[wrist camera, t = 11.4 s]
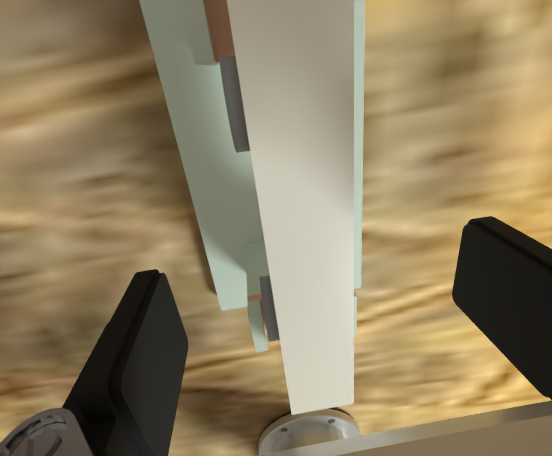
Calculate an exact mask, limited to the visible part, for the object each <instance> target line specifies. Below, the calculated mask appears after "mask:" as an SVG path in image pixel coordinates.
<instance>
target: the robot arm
mask: <svg viewBox="0 0 552 456" xmlns="http://www.w3.org/2000/svg"><path fill="white" fill-rule="evenodd" d="M452 296H453V300H454V302H455V304H456V305H457V306H458V307H459V308H460V309H461V310H462V311H463V312H464V313H465V314H466V315H467V316H468V317H469V319H470V320H471V321H472V322H473V323H474V324H475V325H476V326H477V327H478V328H479V329H480V330H481V331H482V332H483V333H484V334H485V335H486V336H487V337H488V339H489V340H490V341H491V342H492V343H493V344H494V345H495V346H496V347H497V348H498V349H499V350H500V351H501V352H502V353H503V354H504V355H505V356H506V357H507V359H508V360H509V361H510V362H511V363H512V364H513V365H514V366H515V367H516V368H517V369H518V370H519V371H520V372H521V373H522V374H523V375H524V376H525V378H526V379H527V380H528V381H529V382H530V383H531V384H532V385H533V386H534V387H535V388H536V389H537V390H538V391H539V392H540V393H541V394H542V395H544V396H545V397H549V398H550V399H551V400H552V249H551V248H549V247H547V246H545V245H543V244H542V243H540V242H538V241H536V240H534V239H533V238H531V237H529V236H527V235H525V234H523V233H522V232H520V231H518V230H516V229H514V228H513V227H511V226H509V225H507V224H505V223H504V222H502V221H500V220H498V219H496V218H495V217H492V216H490V217H483V218H476V219H471V220H470V221H469V222H468V224H467V225H465V226H464V228H463V232H462V238H461V244H460V250H459V256H458V262H457V267H456V273H455V279H454V285H453V291H452ZM187 352H188V339H187V336H186V333H185V330H184V327H183V324H182V321H181V318H180V315H179V312H178V309H177V306H176V303H175V300H174V297H173V294H172V291H171V288H170V286H169V283H168V280H167V277H166V275H165V273H159V271H158V270H156V269H154V270H148V271H142V272H137V273H136V274H135V275H134V277H133V279H132V281H131V283H130V284H129V286H128V288H127V290H126V292H125V294H124V296H123V298H122V300H121V301H120V303H119V305H118V307H117V309H116V311H115V313H114V315H113V317H112V318H111V320H110V322H109V323H108V324H107V325H106V327H105V329H104V331H103V332H102V334H101V336H100V338H99V340H98V342H97V344H96V345H95V347H94V349H93V351H92V353H91V355H90V357H89V359H88V360H87V362H86V364H85V366H84V368H83V370H82V372H81V373H80V375H79V377H78V379H77V381H76V383H75V385H74V386H73V388H72V390H71V392H70V394H69V396H68V398H67V400H66V401H65V403H64V405H63V407H62V408H54V409H49V410H46V411H43V412H40V413H38V414H36V415H34V416H33V417H31V418H29V419H27V420H26V421H24V422H23V423H22V424H20V425H19V426H18V427H16V428H15V429H14V430H13V431H12V432H11V433H10V434H9V435H8V436H7V437H6V438H5V439H4V440H3V441H2V442H1V443H0V456H168V452H169V447H170V441H171V436H172V431H173V426H174V420H175V415H176V410H177V405H178V399H179V394H180V389H181V383H182V378H183V373H184V368H185V362H186V357H187ZM258 450H259V455H257V456H552V401H547V402H542V403H536V404H530V405H525V406H519V407H514V408H508V409H502V410H497V411H491V412H486V413H481V414H475V415H470V416H464V417H459V418H453V419H448V420H442V421H437V422H432V423H426V424H421V425H415V426H410V427H405V428H399V429H394V430H388V431H383V432H378V433H372V434H367V435H362V436H360V431H359V429H358V426H357V424H356V422H355V421H354V419H353V418H352V417H350V416H349V415H347V414H345V413H343V412H340V411H338V410H333V409H322V410H316V411H311V412H305V413H300V414H294V415H292V414H288V415H286V416H284V417H281V418H280V419H278V420H276V421H275V422H273V423H272V424H271V425H270V426H269V427H267V428H266V430H265V431H264V432H263V433H262V435H261V437H260V439H259V444H258Z"/></svg>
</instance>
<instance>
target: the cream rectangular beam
mask: <svg viewBox="0 0 552 456" xmlns="http://www.w3.org/2000/svg"><path fill="white" fill-rule="evenodd" d="M227 5H228V12H229V18H230V25H231V31H232V37H233V44H234V50H235V56H229V57H221V58H220V69H221V77H222V84H223V90H224V96H225V102H226V108H227V114H228V119H229V124H230V130H231V134H232V139H233V144H234V148H235V151H236V153H239V152H246V151H250V152H251V159H252V165H253V171H254V178H255V184H256V190H257V197H258V203H259V210H260V216H261V222H262V229H263V235H264V241H265V248H266V254H267V261H268V267H269V273H270V275H267V276H261V277H260V288H261V296H262V303H263V310H264V317H265V323H266V329H267V335H268V339H269V341H275V340H280V344H281V350H282V356H283V363H284V369H285V376H286V382H287V388H288V395H289V401H290V407H291V414H292V415H294V414H300V413H305V412H311V411H316V410H322V409H327V408H333V407H338V406H344V405H349V404H354V0H227Z"/></svg>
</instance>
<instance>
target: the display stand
mask: <svg viewBox="0 0 552 456" xmlns="http://www.w3.org/2000/svg"><path fill="white" fill-rule="evenodd" d="M139 1H140V5H141V9H142V13H143V17H144V20H145V24H146V28H147V32H148V35H149V39H150V43H151V47H152V50H153V54H154V58H155V62H156V66H157V69H158V73H159V77H160V81H161V84H162V88H163V92H164V96H165V100H166V103H167V107H168V111H169V115H170V118H171V122H172V126H173V130H174V134H175V137H176V141H177V145H178V149H179V152H180V156H181V160H182V164H183V167H184V171H185V175H186V179H187V183H188V186H189V190H190V194H191V198H192V201H193V205H194V209H195V213H196V217H197V220H198V224H199V228H200V232H201V235H202V239H203V243H204V247H205V251H206V254H207V258H208V262H209V266H210V269H211V273H212V277H213V281H214V285H215V288H216V292H217V296H218V300H219V303H220V307H221V311H223V310H229V309H235V308H241V307H247V306H248V317H249V322H250V326H251V331H252V336H253V340H254V345H255V350H256V353H257V352H262V351H268V346H267V337H268V335H267V329H266V323H265V317H264V310H263V303H262V296H261V288H260V277H261V276H267V275H270V273H269V267H268V261H267V254H266V248H265V241H264V235H263V229H262V222H261V216H260V210H259V203H258V197H257V190H256V184H255V178H254V171H253V165H252V159H251V152H250V151H246V152H239V153H236V151H235V148H234V144H233V139H232V134H231V130H230V124H229V119H228V114H227V108H226V102H225V96H224V90H223V84H222V77H221V69H220V58H221V57H229V56H235V50H234V44H233V37H232V31H231V25H230V18H229V12H228V5H227V0H139ZM364 41H365V0H354V289H356V288H361V253H362V182H363V111H364ZM356 305H357V296H356V294H355V292H354V336H356Z"/></svg>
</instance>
